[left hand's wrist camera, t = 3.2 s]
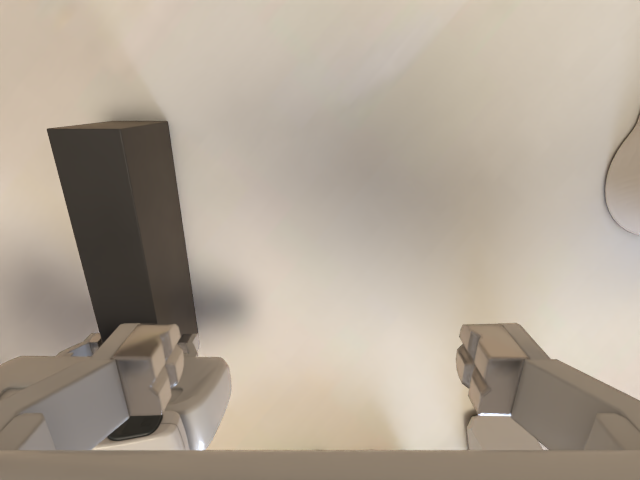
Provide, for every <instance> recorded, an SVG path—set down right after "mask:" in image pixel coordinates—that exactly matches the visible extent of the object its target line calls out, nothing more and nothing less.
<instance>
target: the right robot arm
mask: <svg viewBox="0 0 640 480" xmlns="http://www.w3.org/2000/svg"><path fill="white" fill-rule="evenodd" d="M102 344H103V343H102V339H101V336H100V333H92V334H91V335H90V336H89V337H88V338H87V339H86V340H85V341H84V342H81V343H79V344H77V345H75V346H72V347H70V348H68V349H66V350H64V351H62V352H60V353H59V354H58V355H57V356H20V357H17V358H14V359H12V360H10V361H7V362H5V363H3V364H2V365H0V400H2V399H4V398H6V397H8V396H10V395H13V394H15V393H17V392H19V391H21V390H23V389H25V388H27V387H29V386H31V385H33V384H35V383H37V382H39V381H41V380H43V379H45V378H47V377H49V376H51V375H53V374H55V373H57V372H59V371H61V370H63V369H65V368H67V367H69V366H71V365H73V364H75V363H77V362H79V361H81V360H83V359H90V358H91V357H92V355H93V354H94V353H95V352H96V351H97V350H98V349H99V348H100V346H101V345H102ZM178 345H179V346H180V347H181V348H182V349H183V354H184V367H183V372H182V376H181V378H180V380H179V382H178V384H176V385H175V386H174V387H172V388H171V394H172V396H171V398H170V400H169V402H168V404H167V406H166V408H165V410H164V412H163V414H162V415H149V416H129V419H127V420H126V421H125V422H124V423H123V424H121V425H120V426H119V427H118V428H117V429H115V430H114V431H113V432H112V433H111V434H109V435H108V436H107V437H106V438H105V439H103V440H102V441H101V442H100V443H99V444H97V445H96V446H95V447H94V448H93V449H92V450H205V449H206V448H207V447H208V446H209V444H210V443H211V441H212V439H213V437H214V435H215V433H216V431H217V429H218V427H219V425H220V423H221V420H222V418H223V416H224V413H225V411H226V408H227V405H228V402H229V399H230V395H231V375H230V369H229V366H228V364H227V363H226V362H225V360H224V359H223V358H220V357H198V353H197V351H198V349H199V345H200V342H199V335H198V334H183V335H182V338H181V339H180V340H179V342H178Z"/></svg>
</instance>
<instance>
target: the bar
mask: <svg viewBox="0 0 640 480" xmlns="http://www.w3.org/2000/svg"><path fill="white" fill-rule="evenodd" d="M47 132H48V136H49V140H50V144H51V148H52V151H53V155H54V159H55V163H56V167H57V171H58V174H59V178H60V182H61V186H62V190H63V194H64V197H65V201H66V205H67V209H68V213H69V217H70V220H71V224H72V228H73V232H74V236H75V240H76V243H77V247H78V251H79V255H80V259H81V263H82V267H83V270H84V274H85V278H86V282H87V286H88V290H89V293H90V297H91V301H92V305H93V309H94V313H95V316H96V320H97V324H98V328H99V332H100V336H101V339H102V343H104V342H105V341H106V340H107V339H108V338H109V336H110V335H111V334H112V333H113V332H114V331H115V330H116V329H117V327H118V326H119V325H120V324H124V323H140V324H141V323H154V324H176V325H177V326H178V327H179V331H180V335H181V337H180V339H181V338H182V335H183V334H197V333H198V330H197V323H196V316H195V309H194V302H193V295H192V288H191V281H190V274H189V267H188V260H187V253H186V246H185V239H184V232H183V225H182V219H181V212H180V205H179V198H178V191H177V184H176V177H175V170H174V163H173V156H172V149H171V142H170V135H169V128H168V122H167V121H109V122H101V123H92V124H83V125H75V126H66V127H57V128H49V129H47ZM180 339H179V340H180ZM178 342H179V341H178ZM178 342H177V344H178Z"/></svg>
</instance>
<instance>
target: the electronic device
mask: <svg viewBox="0 0 640 480" xmlns="http://www.w3.org/2000/svg"><path fill="white" fill-rule="evenodd" d="M510 417H511V416H491V415H478V416H472V417H471V420H470V422H469V424H468V426H467V436H468V445H469V450H543V449H542V447H541V445H540V444H539V442H538V440H537V439H535V438H534V437H533V436H532V435H531V434H529V433H528V432H527V431H526V430H525V429H523V428H522V427H521V426H520V425H519V424H518V423H516V422H515V421H514V420H513V419H512V418H510Z"/></svg>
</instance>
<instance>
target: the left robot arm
mask: <svg viewBox="0 0 640 480" xmlns="http://www.w3.org/2000/svg"><path fill="white" fill-rule="evenodd" d="M605 198H606V203H607V207H608V210H609V212H610V214H611V216H612V217H613V219H614V220H615V221H616V222H617V223H618V224H619V225H620V226H621V227H622V228H624V229H625V230H627V231H629V232H631V233H634V234H637V235H640V116H639V119H638V122H637V124H636V126H635V127H634V129H633V130H632V132H631V133H630V134H629V136H628V137H627V138H626V140H625V141H624V142H623V143H622V145H621V146H620V148H619V149H618V151H617V153H616V155H615V156H614V158H613V160H612V163H611V165H610V168H609V171H608V174H607V178H606V185H605ZM180 337H181V335H180V331H179V327H178V326H177V325H176V324H154V323H141V324H140V323H124V324H120V325H119V326H118V327H117V329H116V330H115V331H114V332H113V333H112V334H111V335H110V336H109V338H108V339H107V340H106V341H105V342H104V343H103V344H102V345H101V346H100V348H99V349H98V350H97V351H96V352H95V353H94V354H93V355H92V357H91V358H90V359H83V360H81V361H79V362H77V363H75V364H73V365H71V366H69V367H67V368H65V369H63V370H61V371H59V372H57V373H55V374H53V375H51V376H49V377H47V378H45V379H43V380H41V381H39V382H37V383H35V384H33V385H31V386H29V387H27V388H25V389H23V390H21V391H19V392H17V393H15V394H13V395H10V396H8V397H6V398H4V399H2V400H0V480H640V401H639V400H637V399H635V398H633V397H631V396H629V395H627V394H625V393H623V392H621V391H619V390H617V389H615V388H613V387H611V386H609V385H607V384H605V383H603V382H601V381H599V380H597V379H595V378H593V377H591V376H589V375H587V374H585V373H583V372H581V371H579V370H577V369H575V368H573V367H571V366H569V365H567V364H565V363H563V362H561V361H559V360H557V359H550V358H549V357H548V355H547V354H546V353H545V352H544V351H543V350H542V349H541V348H540V347H539V345H538V344H537V343H536V342H535V341H534V340H533V339H532V338H531V336H530V335H529V334H528V333H527V332H526V331H525V330H524V329H523V327H522V326H521V325H519V324H517V323H499V324H463V325H462V327H461V330H460V335H459V337H460V339H461V341H462V342H463V344H462V345H461V346H460V347H459V348H458V349H457V354H456V367H457V372H458V376H459V378H460V380H461V382H462V384H464V385H465V386H466V387H468V388H469V394H468V396H469V398H470V400H471V402H472V404H473V406H474V408H475V410H476V412H477V414H478V415H491V416H511V417H510V418H512V419H513V420H514V421H515V422H516V423H518V424H519V425H520V426H521V427H522V428H523V429H525V430H526V431H527V432H528V433H529V434H531V435H532V436H533V437H534V438H535V439H537V440H538V441H539V442H540V443H541V444H543V445H544V446H545V447H546V448H547V449H549V450H92V449H93V448H94V447H95V446H96V445H97V444H99V443H100V442H101V441H102V440H103V439H105V438H106V437H107V436H108V435H109V434H111V433H112V432H113V431H114V430H115V429H117V428H118V427H119V426H120V425H121V424H123V423H124V422H125V421H126V420H127V419H129V416H149V415H162V414H163V412H164V410H165V408H166V406H167V404H168V402H169V400H170V398H171V396H172V394H171V388H172V387H174V386H175V385H176V384H178V382H179V380H180V378H181V376H182V372H183V367H184V354H183V349H182V348H181V347H180V346H179V345H178V344H177V342H178V341H179V339H180Z"/></svg>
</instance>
